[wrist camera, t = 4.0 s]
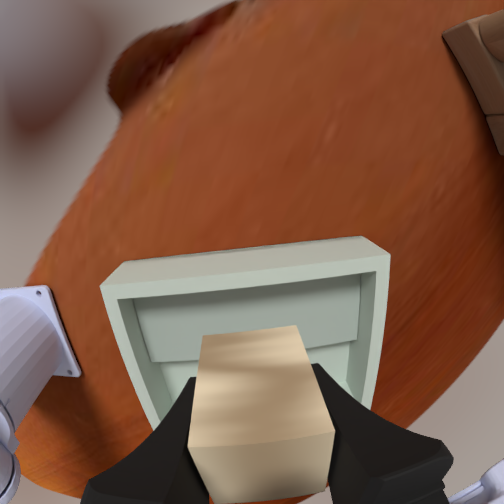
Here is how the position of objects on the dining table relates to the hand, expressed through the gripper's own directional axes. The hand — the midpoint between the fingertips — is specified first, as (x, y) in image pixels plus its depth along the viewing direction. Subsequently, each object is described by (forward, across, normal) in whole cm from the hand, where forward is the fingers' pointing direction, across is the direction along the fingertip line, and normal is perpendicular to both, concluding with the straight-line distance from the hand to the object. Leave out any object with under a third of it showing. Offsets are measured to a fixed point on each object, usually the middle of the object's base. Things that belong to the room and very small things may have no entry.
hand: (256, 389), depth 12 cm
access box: (+8, 0, +2) cm, 8 cm away
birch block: (+2, 0, 0) cm, 2 cm away
